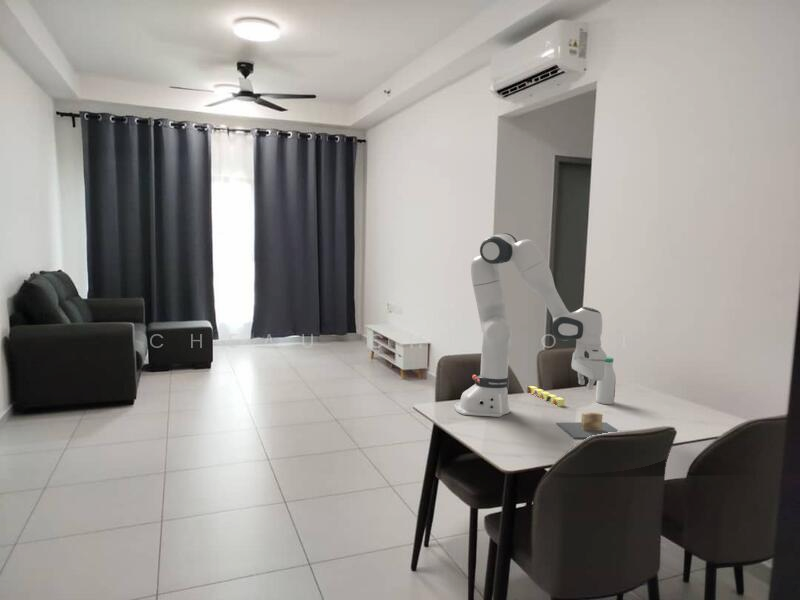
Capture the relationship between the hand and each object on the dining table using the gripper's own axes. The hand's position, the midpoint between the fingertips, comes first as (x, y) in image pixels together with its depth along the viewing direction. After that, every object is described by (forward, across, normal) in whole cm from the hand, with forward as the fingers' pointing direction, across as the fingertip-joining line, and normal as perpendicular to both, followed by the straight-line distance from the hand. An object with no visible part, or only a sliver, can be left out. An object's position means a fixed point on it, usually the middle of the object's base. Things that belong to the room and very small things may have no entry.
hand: (585, 386), depth 207 cm
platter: (+16, -34, -3) cm, 38 cm away
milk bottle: (+15, -30, +24) cm, 42 cm away
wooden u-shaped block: (+14, +6, 0) cm, 16 cm away
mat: (+15, +6, 0) cm, 16 cm away
